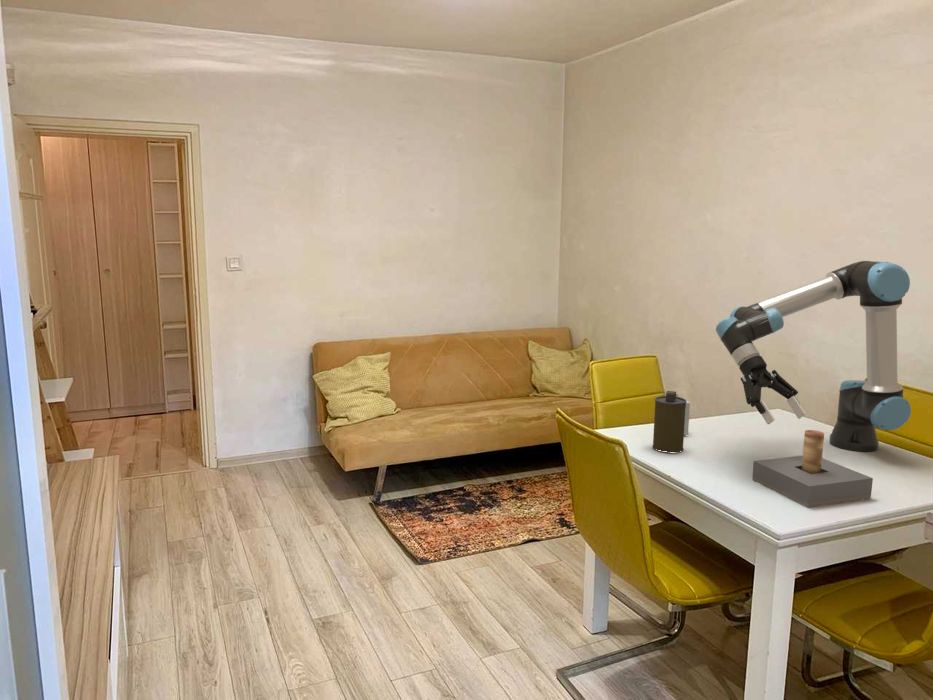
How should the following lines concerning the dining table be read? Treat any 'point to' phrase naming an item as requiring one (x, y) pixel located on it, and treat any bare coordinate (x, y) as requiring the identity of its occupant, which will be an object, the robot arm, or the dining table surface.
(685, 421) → the supplement box
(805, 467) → the oak peg
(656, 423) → the canister
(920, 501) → the dining table surface
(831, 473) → the socket block
